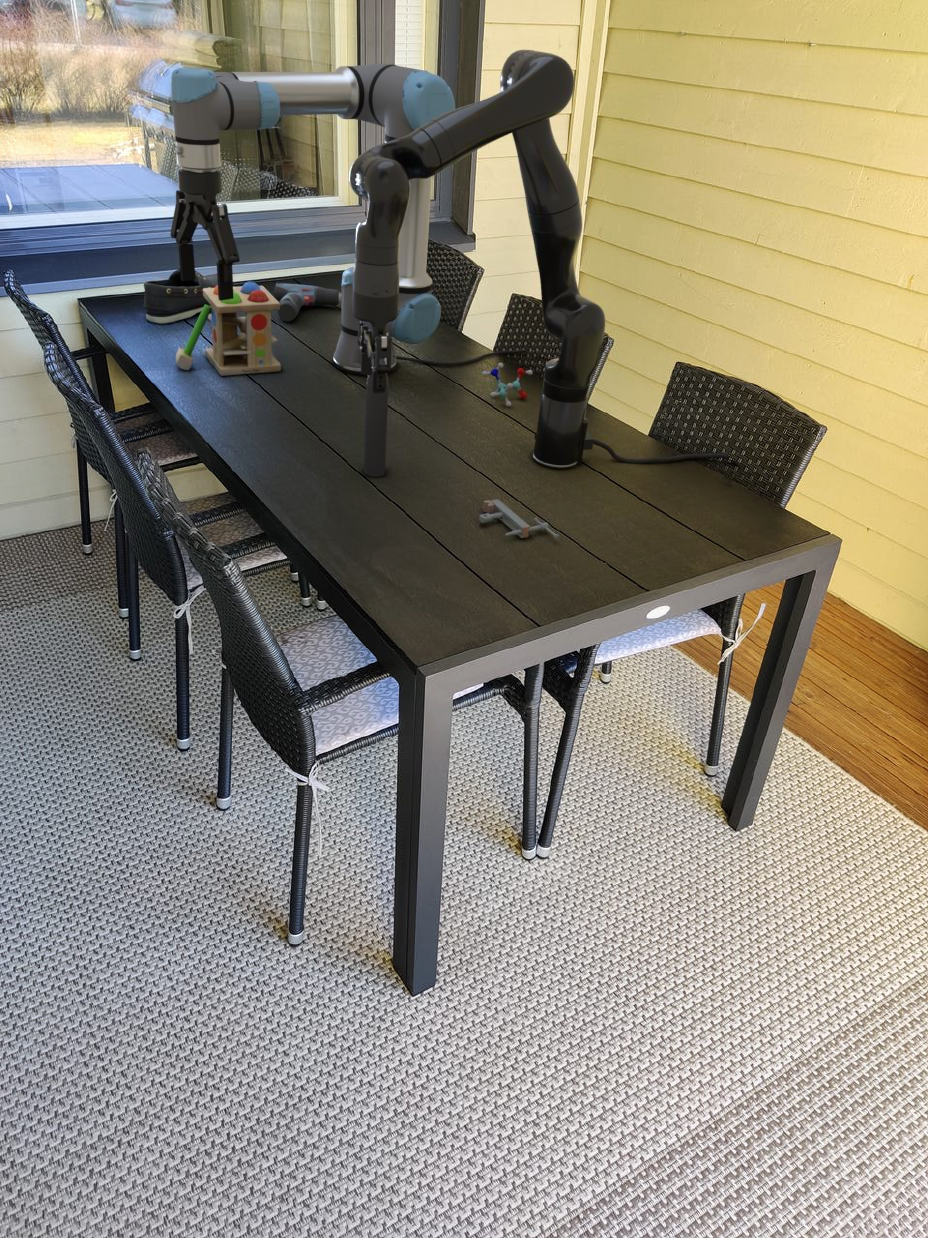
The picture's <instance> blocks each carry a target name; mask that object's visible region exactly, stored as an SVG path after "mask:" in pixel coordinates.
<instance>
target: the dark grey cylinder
mask: <svg viewBox="0 0 928 1238" xmlns="http://www.w3.org/2000/svg"><path fill="white" fill-rule="evenodd" d="M389 384H390V383H389V377H388V373H386V390H385V392H384V393H373V391H372V375H367V378H366V384H365V417H364V419H365V420H364V451H363V452H364V453H363V454H364V456H363V473H364V474H365V475H367V476H368V477H372V478H378V477H382V476H384V475H385V473H386V457H387V456H386V455H387V436H388V435H387V433H388V432H387V431H388V412H389V411H388V410H389V407H388V405H389V386H390V385H389Z"/></svg>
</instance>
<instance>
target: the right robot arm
mask: <svg viewBox="0 0 928 1238" xmlns="http://www.w3.org/2000/svg"><path fill="white" fill-rule="evenodd" d="M499 79H500V80H499V82H500V83H499V86H500V88H499V89H500V92H498V93H496V94H494V95H492V96H490V97H488V98H485V99H482V100H479V101H477V102H473V103H470V104H467V105H464V106H461V107H458V108H455V110H452V111H450V112H447V113H445V114H443V115H440V116H438V117H437V118H435V119H433V120H431V121H430V122H428V123H426V124H425V125H423V126H421V127H420V128H418V129H416V130H415V131H413V132H412V133H410V134H409V135H407V136H404V137H401V138H398V139H394V140H391V141H389V142H386V143H385V142H384V143H381V144H378V145H375V146H373V147H371V148H369V149H367V150H365V151H364V152H362V153H361V154H360V155H358V157H357V158H356V159H355V160H354V161H353V163H352V165H351V166H350V170H349V172H348V173H349V174H348V182H349V185H350V188H351V190H352V192H353V193H354V194H356V195H357V196H358V198H360V199H362V200H364V201H366V202H368V210H367V216H366V218H365V219H363V220H361V221H360V222H358V224H357V226H356V229H355V239H354V240H355V245H354V248H355V249H354V255H355V256H354V266H353V267H354V271H353V308H352V313H353V316H354V317H355V318H357V319H358V341H357V343H358V346H360V348H359V349H360V352H361V373H362V375H361V376H368V375H372V391H373V393H384V392H385V390H386V372H389V373H391V372H392V371H391V346H392V343H393V337H391V336H389V334H388V331H386V324H387V323H388V322H392V321H394V320H395V319H396V318H397V316H398V299H399V236H400V232H401V229H402V226H403V223H404V219H405V215H406V211H407V207H408V203H409V198H410V181H409V180H410V179H427V178H430V177H432V178H433V177H434V176H436V175H437V174H439V173H440V172H443V171H444V170H446V169H447V168H449V167H451V166H453V165H454V164H455V163H457V162H459V161H461V160H462V159H464V158H465V157H468V156H469V155H471V154H472V153H475V152H476V151H477V150H479V149H482V148H483V147H485V146H487V145H489V144H491V143H493V142H495V141H498V140H499V139H502V138H503V137H506V136H508V135H510V134H511V135H512V138H513V139H512V140H513V142H514V146H515V151H516V156H517V160H518V165H519V171H520V176H521V182H522V186H523V191H524V196H525V205H526V210H527V216H528V222H529V227H530V231H531V235H532V241H533V245H534V252H535V258H536V264H537V268H538V274H539V281H540V295H541V308H542V309H541V310H542V318H543V324H544V327H545V329H546V332H547V334H549V335H550V337H552V338H553V339H555V340H556V341H558V342H560V343H561V348H560V352H559V357H556V358H552V359H550V360H549V361H547V363H546V364H545V366H544V372H543V379H542V386H541V387H542V388H541V395H540V403H539V410H538V417H537V418H538V419H537V423H536V424H537V426H536V432H535V434H534V438H533V440H534V446H533V452H532V459H533V461H535V462H536V463H537V464H538V465H540V466H542V467H546V468H550V469H555V470H556V469H557V470H565V469H571V468H574V467H577V465H582V462H583V456H584V451H588V450H589V451H590V450H593V446H594V445H595V446H598V447H600V448H602V449H604V450H606V451H607V452H608V454H610V456H611V457H612V458H613V459H614V460H615V461H618V462H619V463H624V464H636V465H637V464H641V465H643V464H644V465H645V464H654V463H671V462H676V461H682V460H692V459H695V460H697V459H699V460H700V459H701V460H702V459H703V460H706V459H724V460H728V461H730V462H732V463H733V464H734V466H738V467H741V466H742V465H741V463H740V461H739V460H738V461H739V462H738V461H733V460H729V459H727V455H728V454H727V453H719V452H718V453H717V452H716V453H687V454H680V455H674V456H668V457H667V456H665V457H650V458H638V459H637V458H626V457H623V456H621V455H618V454H617V453H616V452H615V451H614V450H613V448H612V447H611V446H609V445H608V444H606V443H605V442H603V441H600V440H598V439H595V438H593V437H592V435H590V434H589V433H588V431H587V430H588V424H589V420H588V418H586V413H587V405H588V400H589V393H590V388H591V387H590V386H591V382H592V377H593V375H594V373H595V371H596V369H597V366H598V364H599V360H600V355H601V350H602V345H603V341H604V337H605V331H606V315H605V312H604V310H603V308H602V306H600V305H599V304H598V303H596V302H594V301H592V300H590V299H589V298H586V297H585V296H583V295H581V293H580V291H579V287H578V282H577V277H576V270H575V257H576V253H577V250H578V247H579V244H580V241H581V237H582V232H583V214H582V209H581V201H580V196H579V195H580V194H579V190H578V186H577V183H576V181H575V180H576V179H575V178H574V176H573V173H572V171H571V169H570V167H569V165H568V163H567V162H566V160H565V158H564V156H563V154H562V152H561V151H560V148H559V146H558V145H557V144H558V143H557V142H556V139H555V136H554V133H553V130H552V125H551V119H550V118H553V117H555V116H557V115H559V114H560V113H561V112H562V111H564V110H565V108H566V107H567V106H568V105H569V103H570V102H571V100H572V97H573V94H574V90H575V75H574V71H573V68H572V66H571V65H570V64H569V63H568V62H567V60H565V59H564V58H563V57H561V56H559V55H557V54H554V53H552V52H551V53H550V52H546V51H538V50H534V49H519V50H515V51H514V52H512V53H510V55H509V56H508V57H506V59H505V61H504V63H503V66H502V68H501V72H500V78H499ZM380 359H382V360H383V365H379V360H380ZM726 454H727V455H726Z"/></svg>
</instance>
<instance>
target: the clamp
mask: <svg viewBox="0 0 928 1238" xmlns="http://www.w3.org/2000/svg"><path fill="white" fill-rule="evenodd" d="M482 506H483V507H482V512H484V513H482V514H479V516H478V517H479V519H478V520H479V522H480V523H482V524H485V523H491V522H492V521H493V520H497V519H498V520H500V521H501V522H502V523H503V524H504V525H506V526H507V527H508V528H509V529H510V530H511V531H509V532H505V533H504V536H505V537H509V536H518V537H519V538H521V539H525V538H529V535H530V534H529V533H531V532H535V531H546V532H547V533H548V534H550V535H552V536H553V537H554V540H559V538H560V534H558V533H557V534H556V533H555V532H554V531H553V530H552V529H550V528H549V527H550V525H549V523H548V522H542V521H540V520H539V518H538V517H537V516H536V517H534V518H533V520H532V521H533V523H537V524H538V525H534V526H531V525H529V524H528V523H527V522H526V521H525V520H523V519H522V517H520V516H519V515H518V514H516V513H515V512H514V511H512V509H510V508H509V507H508V506H507V505H506V504H504V502H502V501H501V500H500V499H499V498H497V499H492V500H490V499H488V500H484V501H483V505H482Z"/></svg>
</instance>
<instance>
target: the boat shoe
mask: <svg viewBox="0 0 928 1238" xmlns="http://www.w3.org/2000/svg"><path fill="white" fill-rule="evenodd" d="M195 278H196V280H189V281H181V273H180V268H177V269H176V270H174V271H173V272H172V273H171V274H170V275H169V277H167V278H166V279H161V280H147V281H144V282H143V288H144V289H143V290H144V304H143V308H144V309H145V310H146V311H145V316H146V317H145V318H146V320H147V321H149V322H151V323H155V324H169V323H174V322H178V321H180V320H184V319H188V318H191V317H194V315H196V314H197V313H201V311H202V309H203V307H204V305H208V306H210V307H211V305H210V304H209V302H208V301H207V300H206V299H205V297H204V296H203V289H204V288H215V287H216V286H217V285H218V280H217V273H214V274H208V275H205V276H204V275H203V274H201V273H200V272H199V271H197V270H195ZM233 287H235V283H234V282H233Z"/></svg>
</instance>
